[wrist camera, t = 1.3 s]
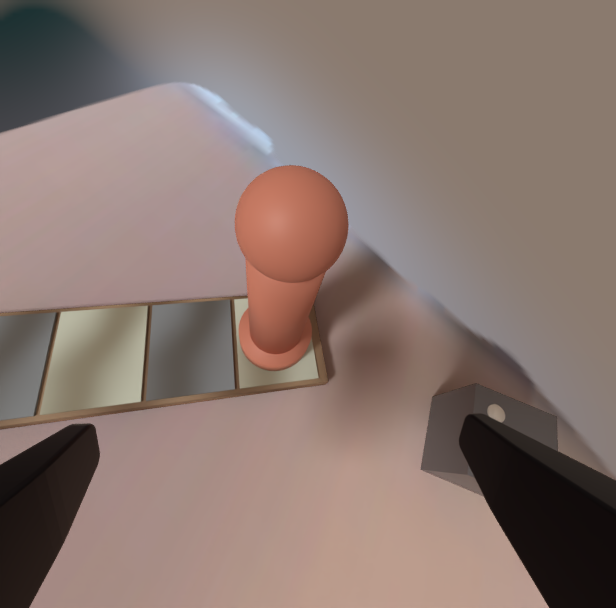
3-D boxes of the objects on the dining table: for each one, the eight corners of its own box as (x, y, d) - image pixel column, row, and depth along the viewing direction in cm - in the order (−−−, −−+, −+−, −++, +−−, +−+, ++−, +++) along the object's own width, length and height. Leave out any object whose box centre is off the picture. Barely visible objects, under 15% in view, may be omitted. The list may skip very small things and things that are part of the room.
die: (491, 499, 19) (562, 514, 15) (420, 469, 20) (468, 475, 15) (495, 423, 22) (558, 416, 17) (431, 397, 22) (477, 383, 17)
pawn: (275, 386, 19) (307, 279, 7) (224, 337, 20) (178, 173, 8) (322, 336, 21) (404, 189, 9) (273, 294, 22) (293, 112, 10)
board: (309, 297, 24) (311, 290, 23) (325, 384, 21) (328, 380, 20) (-37, 322, 19) (-53, 315, 18) (-78, 440, 16) (-101, 439, 15)
